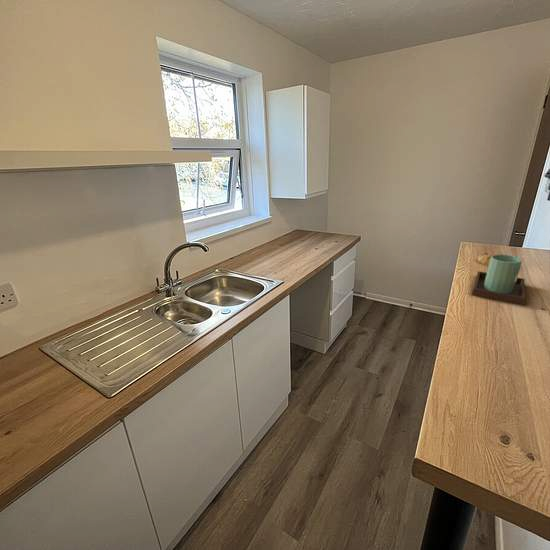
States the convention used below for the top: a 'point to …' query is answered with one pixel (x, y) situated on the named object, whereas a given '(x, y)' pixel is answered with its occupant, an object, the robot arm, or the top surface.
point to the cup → (502, 273)
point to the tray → (513, 297)
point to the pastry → (484, 258)
